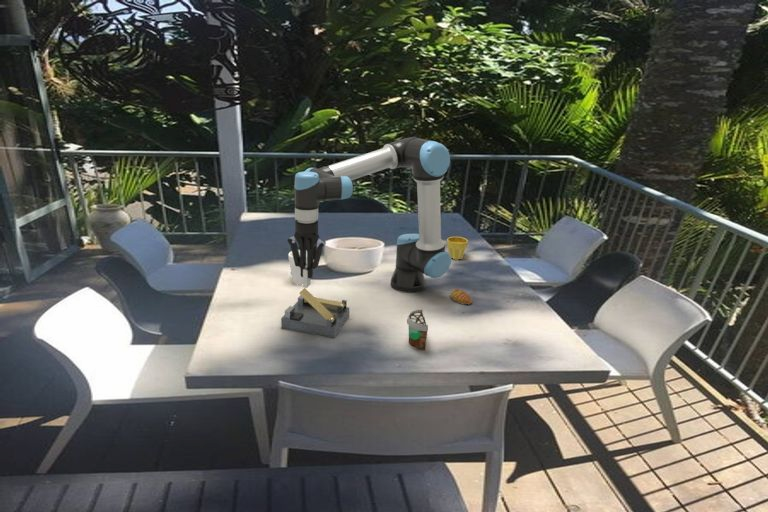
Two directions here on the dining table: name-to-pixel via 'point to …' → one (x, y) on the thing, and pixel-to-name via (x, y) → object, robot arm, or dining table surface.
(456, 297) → the pastry
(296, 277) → the foam cup
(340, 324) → the base
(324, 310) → the latch bar front
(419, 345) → the iced coffee cup
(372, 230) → the dining table surface
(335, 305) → the bar
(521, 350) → the dining table surface
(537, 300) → the dining table surface
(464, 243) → the plant pot
